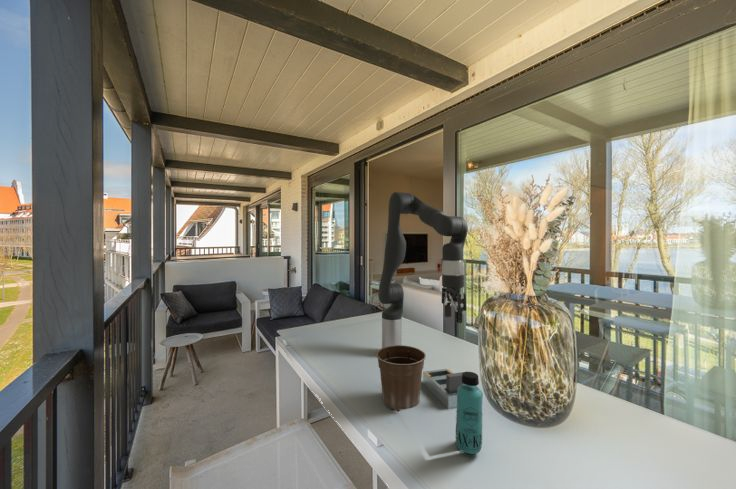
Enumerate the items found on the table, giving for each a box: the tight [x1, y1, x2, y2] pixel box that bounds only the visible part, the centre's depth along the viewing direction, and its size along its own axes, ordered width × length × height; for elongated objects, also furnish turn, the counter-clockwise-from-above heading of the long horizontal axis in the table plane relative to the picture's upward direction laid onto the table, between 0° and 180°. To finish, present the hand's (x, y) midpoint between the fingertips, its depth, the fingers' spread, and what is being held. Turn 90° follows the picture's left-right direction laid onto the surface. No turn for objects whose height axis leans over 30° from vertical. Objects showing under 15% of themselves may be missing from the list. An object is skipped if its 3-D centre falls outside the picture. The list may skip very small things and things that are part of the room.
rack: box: [422, 368, 457, 410], centre depth 105 cm, size 18×10×5 cm, turn 16°
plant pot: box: [375, 344, 427, 412], centre depth 100 cm, size 16×16×16 cm
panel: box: [446, 371, 465, 394], centre depth 99 cm, size 2×7×9 cm, turn 106°
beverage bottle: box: [455, 371, 484, 455], centre depth 77 cm, size 6×7×20 cm
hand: (453, 319), depth 106 cm, fingers open, 8 cm apart
